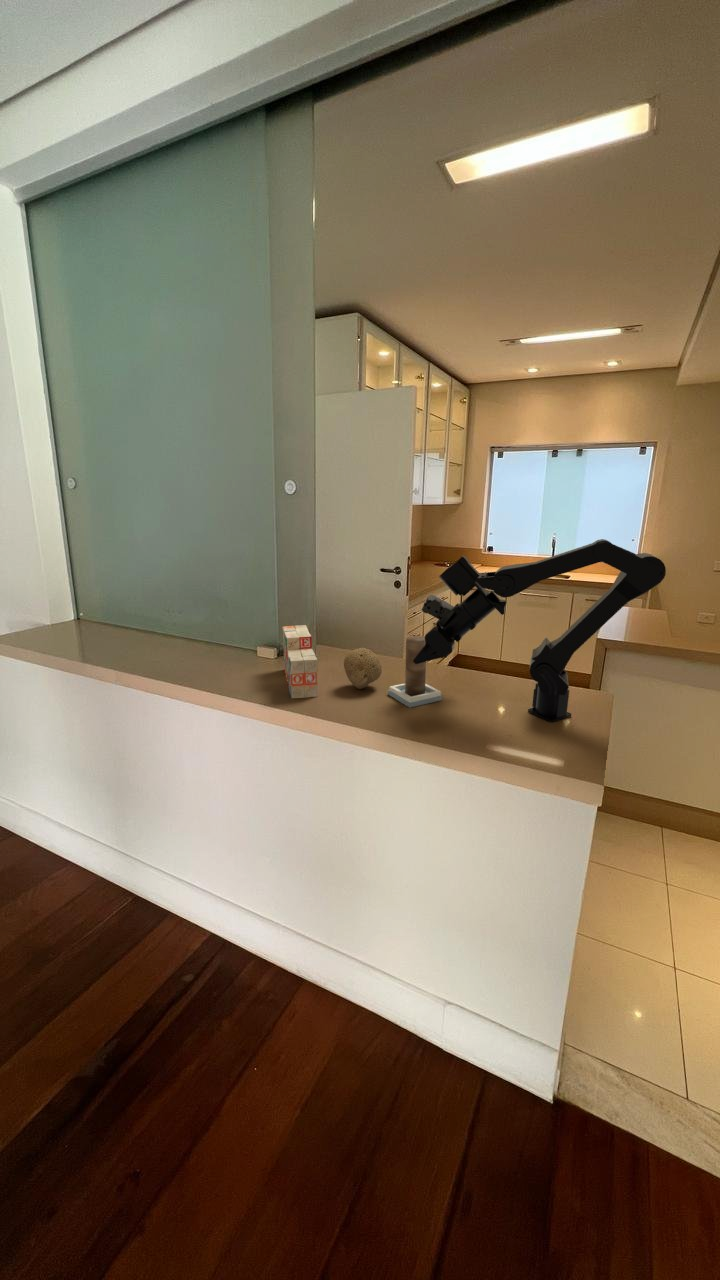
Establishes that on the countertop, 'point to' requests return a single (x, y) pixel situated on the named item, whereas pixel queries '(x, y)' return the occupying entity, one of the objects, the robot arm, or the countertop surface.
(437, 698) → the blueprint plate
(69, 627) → the countertop surface
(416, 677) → the walnut column
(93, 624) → the countertop surface
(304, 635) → the stack of blocks
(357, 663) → the natural sponge
